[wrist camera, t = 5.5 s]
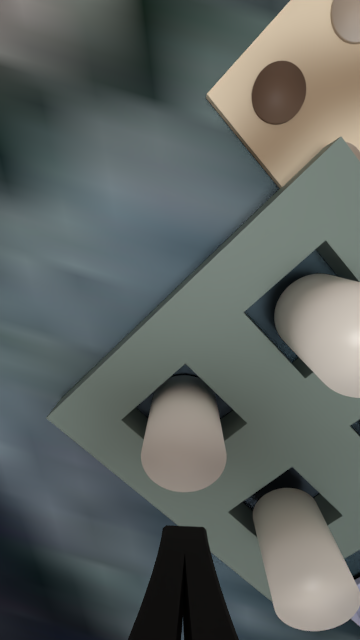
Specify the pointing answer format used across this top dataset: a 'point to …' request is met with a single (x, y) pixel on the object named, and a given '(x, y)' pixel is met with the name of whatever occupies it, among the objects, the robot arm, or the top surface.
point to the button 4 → (324, 328)
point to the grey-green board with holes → (241, 373)
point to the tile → (296, 86)
